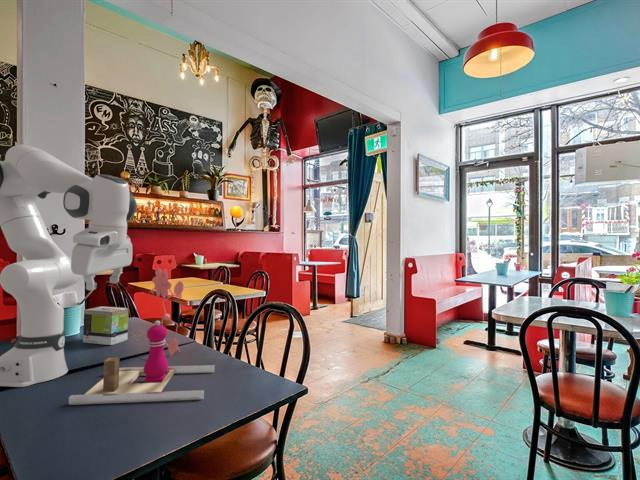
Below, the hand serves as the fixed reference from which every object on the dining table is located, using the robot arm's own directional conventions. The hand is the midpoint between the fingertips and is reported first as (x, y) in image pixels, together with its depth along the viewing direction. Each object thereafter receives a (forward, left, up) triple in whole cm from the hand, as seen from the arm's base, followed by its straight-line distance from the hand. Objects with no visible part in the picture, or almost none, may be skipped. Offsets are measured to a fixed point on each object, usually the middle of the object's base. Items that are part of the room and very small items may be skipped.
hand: (103, 286), depth 93 cm
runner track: (+8, +15, -34) cm, 38 cm away
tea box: (-27, +65, -34) cm, 78 cm away
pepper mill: (+9, +18, -34) cm, 39 cm away
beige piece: (+3, +14, -34) cm, 37 cm away
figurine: (+2, +46, -34) cm, 57 cm away
